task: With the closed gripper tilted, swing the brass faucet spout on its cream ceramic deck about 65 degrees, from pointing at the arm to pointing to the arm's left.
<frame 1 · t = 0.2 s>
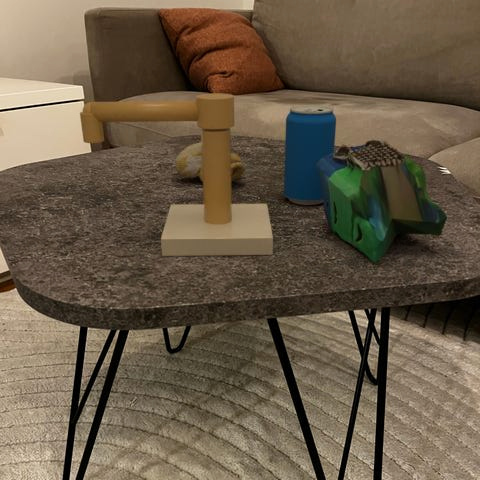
seashell: (208, 180, 91), on the table
beverage can: (307, 200, 82), on the table
elephant figurine: (381, 193, 84), on the table
faucet base: (218, 236, 69), on the table
spout: (157, 118, 63), point 13 cm above the table, hinge at 0.0°
sculpture: (375, 242, 68), on the table
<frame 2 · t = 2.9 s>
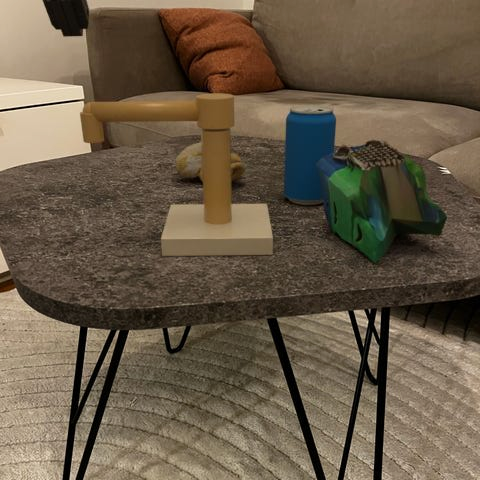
hand: (73, 27, 47), 22 cm above the table, tool tilted 45°, fingers closed
nothing on the table moved.
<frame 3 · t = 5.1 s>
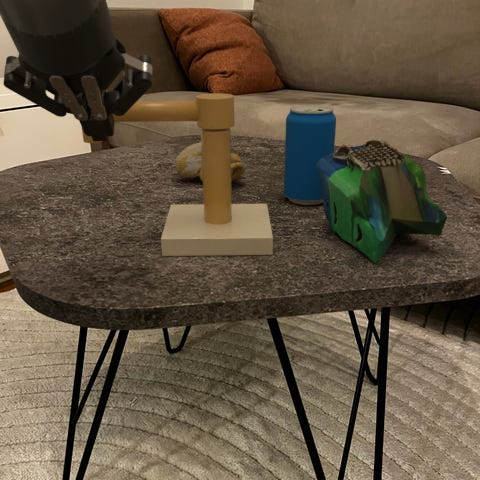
hand: (101, 133, 58), 13 cm above the table, tool tilted 45°, fingers closed
nothing on the table moved.
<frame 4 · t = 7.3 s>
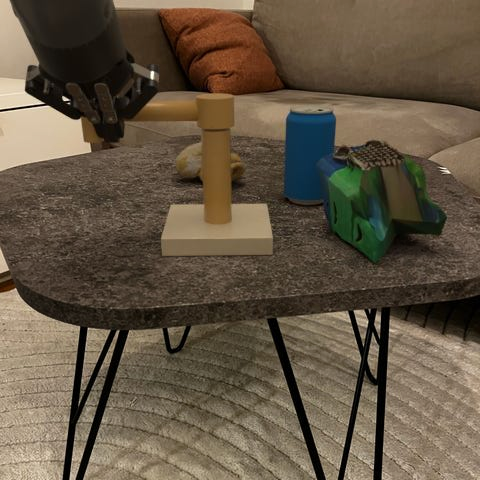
hand: (112, 135, 63), 12 cm above the table, tool tilted 45°, fingers closed
spout: (157, 118, 63), point 13 cm above the table, hinge at 0.6°, touching gripper
everything else where it was.
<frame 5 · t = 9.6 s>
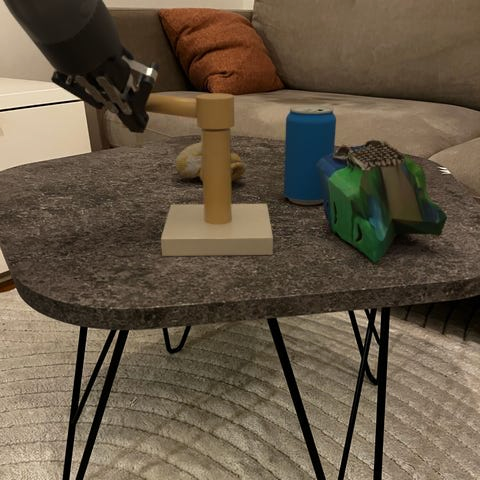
hand: (140, 126, 69), 11 cm above the table, tool tilted 45°, fingers closed
spout: (173, 112, 66), point 13 cm above the table, hinge at 38.2°, touching gripper
everything else where it was.
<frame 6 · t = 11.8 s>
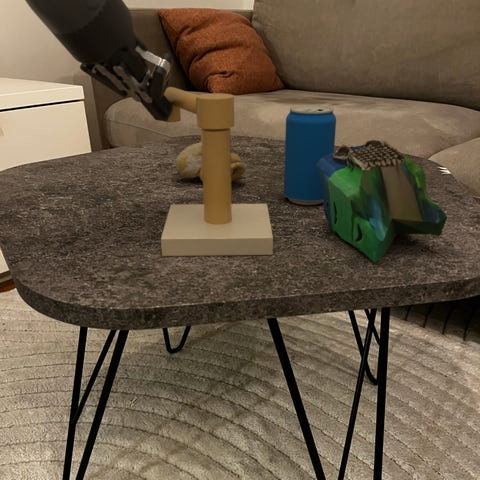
hand: (164, 114, 72), 12 cm above the table, tool tilted 45°, fingers closed
spout: (193, 110, 68), point 13 cm above the table, hinge at 64.0°
everything else where it was.
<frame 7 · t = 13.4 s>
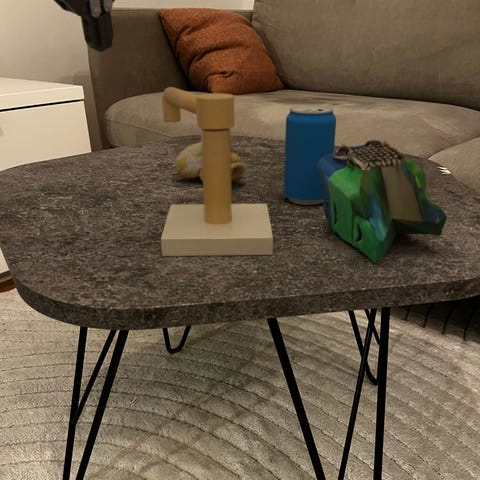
hand: (100, 47, 63), 20 cm above the table, tool tilted 20°, fingers closed
nothing on the table moved.
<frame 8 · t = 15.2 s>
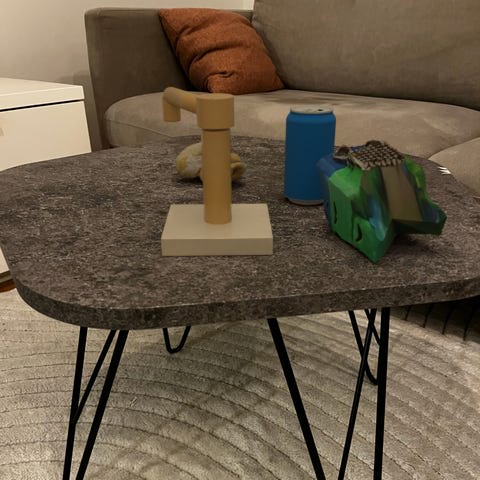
nothing on the table moved.
at the end: spout at +64° (first picture: +0°) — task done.
